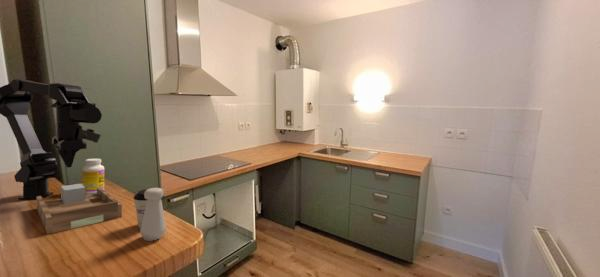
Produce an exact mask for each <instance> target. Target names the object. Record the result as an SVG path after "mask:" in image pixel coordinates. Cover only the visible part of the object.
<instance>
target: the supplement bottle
mask: <svg viewBox="0 0 600 277" xmlns="http://www.w3.org/2000/svg"><path fill="white" fill-rule="evenodd" d="M101 163H102V158H87V159H85V166H83V167H82V169H81V175H82V176H81V179H82V183H81V184H82V185H83V186H84V187H85V195H88V194H94V193H97V188H98V187H101V188H102V189H103V190H104V191H105V166H104V165H102V164H101Z"/></svg>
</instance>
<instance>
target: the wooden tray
mask: <svg viewBox="0 0 600 277" xmlns="http://www.w3.org/2000/svg"><path fill="white" fill-rule="evenodd" d="M35 200H36V211H37V213H38V216H39V218H40V220H41V223H42V225H43V227H44V229H45V232H46V235H49V234H55V233H58V232H62V231H63V232H64V231H67V230H71V229H72V230H73V229H77V228H79V227H80V228H81V227H85V226H89V225H93V224H98V223H102V222H106V221H111V220H115V219H119V218H123V217H122V216H123V214H122V213H123V211H122V210H123V208H122V207H123V206H122V205H123V204H122V203H121V202H119V201H118V200H117V199H116V198H115V197H113V196H112V195H110V194H109V193H108V192H107V191H106V190H105V189H104V190H103V189H102V188H101V187H98V188H97V193H94V194H85V201H81V202H75V203H69V204H64V203H63V201H62V200H61V198H57V199H51V200H45V201H44V198H42V197H41V196H36V199H35Z"/></svg>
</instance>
